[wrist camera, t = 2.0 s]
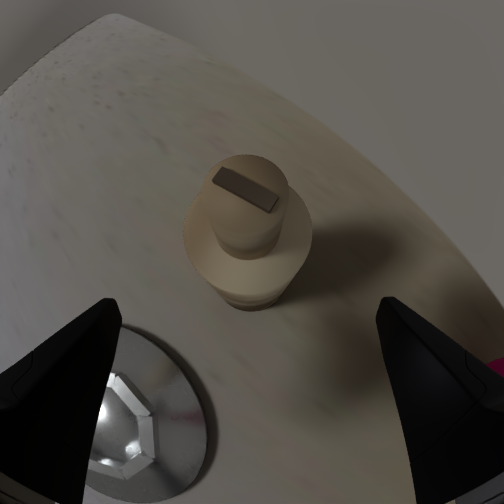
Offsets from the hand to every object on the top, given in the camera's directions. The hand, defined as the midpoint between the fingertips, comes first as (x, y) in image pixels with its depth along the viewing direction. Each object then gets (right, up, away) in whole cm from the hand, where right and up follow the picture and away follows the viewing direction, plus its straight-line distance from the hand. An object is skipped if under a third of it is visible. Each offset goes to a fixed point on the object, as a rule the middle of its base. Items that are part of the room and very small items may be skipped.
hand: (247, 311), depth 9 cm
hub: (-10, -11, +8) cm, 17 cm away
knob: (0, 0, +11) cm, 11 cm away
